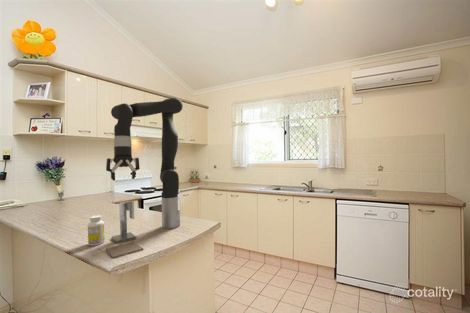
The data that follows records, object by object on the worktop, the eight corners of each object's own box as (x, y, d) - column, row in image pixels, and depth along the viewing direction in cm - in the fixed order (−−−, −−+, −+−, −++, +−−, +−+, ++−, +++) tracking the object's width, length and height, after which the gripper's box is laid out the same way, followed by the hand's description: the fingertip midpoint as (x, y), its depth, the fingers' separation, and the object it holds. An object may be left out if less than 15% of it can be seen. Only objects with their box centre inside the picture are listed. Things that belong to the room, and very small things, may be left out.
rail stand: (130, 234, 120) (129, 196, 120) (140, 242, 108) (139, 200, 108) (111, 238, 114) (110, 199, 114) (120, 247, 102) (119, 203, 102)
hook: (131, 217, 112) (131, 200, 112) (134, 218, 109) (133, 201, 109) (119, 219, 109) (119, 202, 109) (122, 221, 106) (121, 203, 106)
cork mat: (134, 242, 108) (134, 241, 108) (143, 249, 99) (143, 248, 99) (105, 249, 100) (105, 248, 100) (112, 258, 91) (112, 256, 91)
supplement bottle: (98, 240, 112) (97, 214, 112) (107, 241, 110) (107, 215, 110) (84, 245, 106) (84, 217, 106) (94, 247, 104) (93, 218, 104)
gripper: (136, 146, 116) (137, 178, 116) (104, 146, 108) (105, 180, 107) (140, 145, 111) (141, 178, 110) (107, 145, 102) (108, 181, 101)
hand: (123, 179), depth 109 cm, fingers open, 8 cm apart
